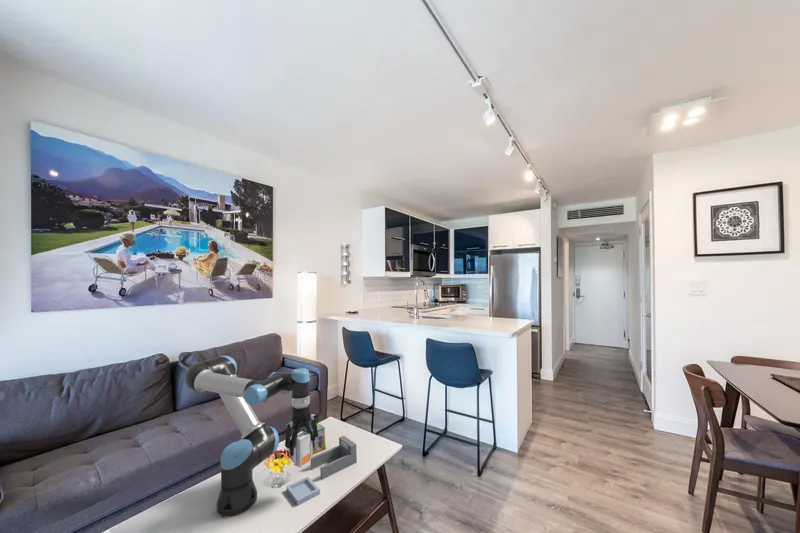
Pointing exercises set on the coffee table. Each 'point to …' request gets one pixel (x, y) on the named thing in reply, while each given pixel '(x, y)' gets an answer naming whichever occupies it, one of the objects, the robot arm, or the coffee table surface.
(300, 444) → the skincare box
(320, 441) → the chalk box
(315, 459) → the dock
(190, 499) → the coffee table surface
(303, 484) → the tray
